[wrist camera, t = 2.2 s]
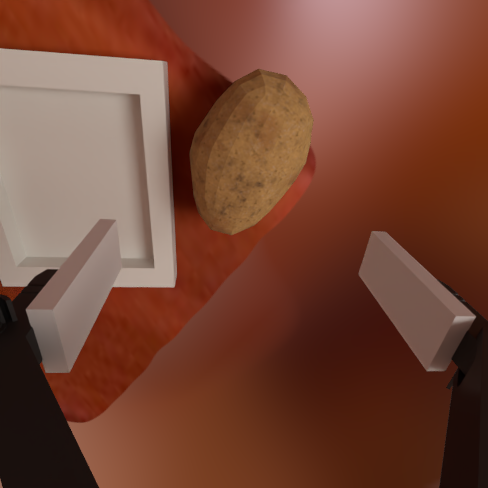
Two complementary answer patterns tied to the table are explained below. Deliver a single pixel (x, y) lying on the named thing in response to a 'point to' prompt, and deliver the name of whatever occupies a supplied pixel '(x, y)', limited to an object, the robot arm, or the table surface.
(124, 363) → the table surface
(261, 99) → the potato
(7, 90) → the white rimmed tray
